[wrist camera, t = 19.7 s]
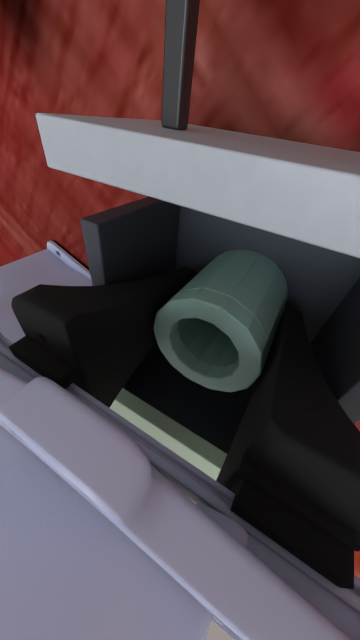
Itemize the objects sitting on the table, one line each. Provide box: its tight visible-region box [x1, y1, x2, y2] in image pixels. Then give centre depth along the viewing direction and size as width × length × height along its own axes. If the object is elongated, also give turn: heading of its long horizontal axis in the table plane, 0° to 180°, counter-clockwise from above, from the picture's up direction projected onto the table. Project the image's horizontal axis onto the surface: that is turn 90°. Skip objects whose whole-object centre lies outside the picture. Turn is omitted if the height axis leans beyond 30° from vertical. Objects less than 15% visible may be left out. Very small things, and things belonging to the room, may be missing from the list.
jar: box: [153, 249, 288, 392], centre depth 11 cm, size 4×5×5 cm
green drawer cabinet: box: [110, 388, 227, 504], centre depth 19 cm, size 15×13×9 cm
